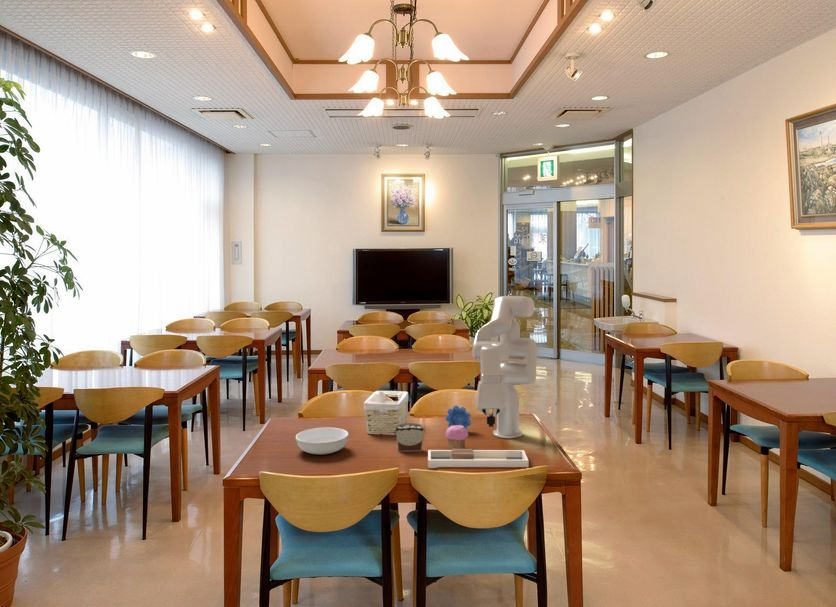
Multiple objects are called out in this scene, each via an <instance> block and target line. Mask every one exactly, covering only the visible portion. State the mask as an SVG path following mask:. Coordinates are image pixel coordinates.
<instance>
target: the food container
mask: <svg viewBox="0 0 836 607" xmlns="http://www.w3.org/2000/svg"><path fill="white" fill-rule="evenodd" d="M395 431H396V435H395V436H396V443H397V444H396V445H397V451H398V452H422V451H423V442H424V441H423V440H424V432H426V429H425V426H424V425H423V424H422V423H421V424H420V423H416V422H406V423H403V424H399V425H397V426H396V428H395ZM395 431H394V432H395Z"/></svg>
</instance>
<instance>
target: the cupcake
mask: <svg viewBox="0 0 836 607" xmlns="http://www.w3.org/2000/svg"><path fill="white" fill-rule="evenodd" d="M468 437H469V432H468V429H467V430H466V428H465V427H464V426H461V425H454V426H451V427H449V426H448V428H447V429H446V431H445V438H446V439H447V442H448V446H449V448H450V450H452V449H466V448H465V446H466V439H467V438H468Z"/></svg>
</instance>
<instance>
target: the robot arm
mask: <svg viewBox="0 0 836 607" xmlns="http://www.w3.org/2000/svg"><path fill="white" fill-rule="evenodd" d="M534 311H535V302H534V299H533V298H532V297H531V296H524V295H522V296H521V295H501V296H498V297H496V298H494V300H493V308H492V312H491V317H490V320H489V322H487V323H486V324H484V325H483V326H482V327H480V328H479V329H478V330H477V332H476V334H475V336H474V338H473V339H474V340H473V343H472V349H471V352H472V357H473V358H474V359H475V360H477V361H480V380H479V381H478V384H477V390H476V391H477V392H476V411H477V412H480V413H483V414H484V415H485V416H486V424H487V425H488V428H491V427H492V428H494V425H496V429H494V430H493V431H492V433H493V434H492V435H493V436H495V437H497V438H502V439H517V438H520V437H522V436H523V431H522V430H520V394H519V392H518V390H517V389H516V387H515V386H521V387H522V386H525V387H528V386H529V387H530V386H533V385H535V383H536V379H537V364H538V361H537V359H538V356H537V355H538V353H537V352H538V350H537V349H538V347H537V343H536V341H535V340H534V339H533V338H532V337H531V338H530V337H521V333H520V332H521V326H520V323H519V322H518V320H517V319H516V318H515V317H517V318H520V317H521V318H530V317H532V315H534ZM496 337H499V341H492V340H490V339H491V338H496ZM507 360H514V361H515V360H517V361H519V360H520V361H525V362H509V361H507ZM506 361H507V362H506ZM490 410H492V412H491V413H490Z"/></svg>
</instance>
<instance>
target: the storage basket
mask: <svg viewBox="0 0 836 607" xmlns="http://www.w3.org/2000/svg"><path fill="white" fill-rule="evenodd" d="M386 397H387V398H388V397H389V398H397V400H387V398H386ZM408 403H409V392H408V391H399V390H375V391H374V392H373V393H372V394H370V396H369V397H367V399H366V400H365V401H364V403H363V404H364V405H363V406H364V407H363V408H364V412H365V414H364V415H365V423H366V424H365V425H366V432H367V434H369V435H380V434H382V436H396V431H395V428H396V426H397V425H399V424H403V423H408V409H409V408H408ZM394 431H395V432H394Z"/></svg>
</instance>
